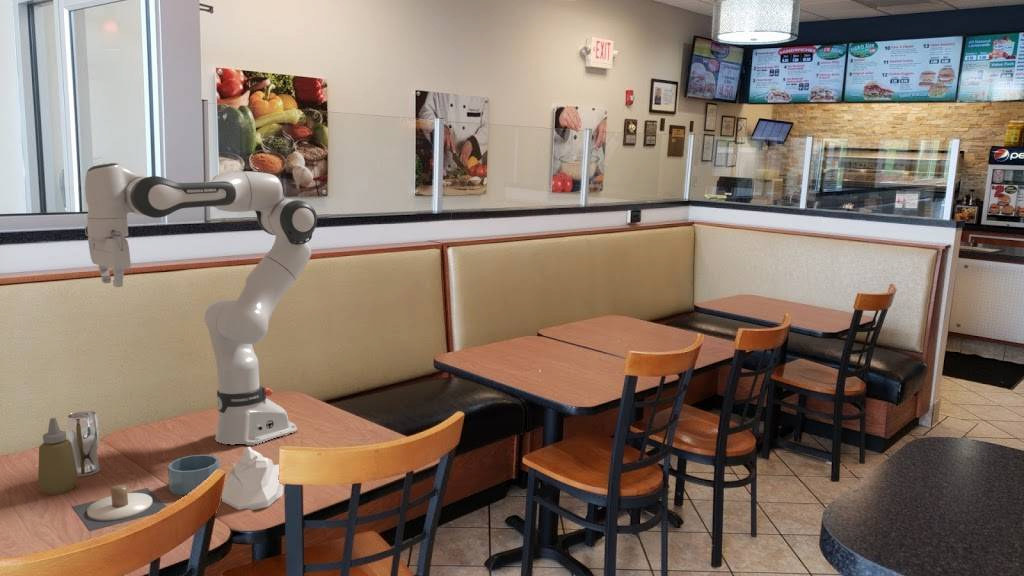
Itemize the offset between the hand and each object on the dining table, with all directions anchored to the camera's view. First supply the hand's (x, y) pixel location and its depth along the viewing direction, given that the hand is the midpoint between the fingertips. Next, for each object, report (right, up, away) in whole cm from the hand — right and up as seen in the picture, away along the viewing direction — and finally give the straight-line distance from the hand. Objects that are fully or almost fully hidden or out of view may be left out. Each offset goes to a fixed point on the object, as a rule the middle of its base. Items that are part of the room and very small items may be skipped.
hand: (112, 284), depth 195 cm
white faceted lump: (+41, -50, -15) cm, 66 cm away
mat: (+13, -51, -22) cm, 56 cm away
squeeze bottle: (-7, -49, -11) cm, 51 cm away
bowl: (+24, -49, -9) cm, 55 cm away
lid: (+13, -50, -22) cm, 56 cm away
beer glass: (-7, -47, +2) cm, 48 cm away
